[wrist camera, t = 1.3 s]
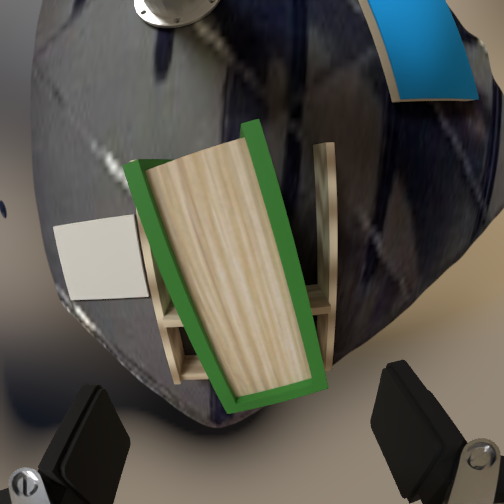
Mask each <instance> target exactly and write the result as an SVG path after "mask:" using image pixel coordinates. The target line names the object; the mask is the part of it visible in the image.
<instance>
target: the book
mask: <svg viewBox="0 0 504 504" xmlns="http://www.w3.org/2000/svg"><path fill="white" fill-rule="evenodd" d="M358 1H359V3H360V5H361V8H362V10H363V13H364V15H365V18H366V20H367V23H368V26H369V28H370V31H371V34H372V37H373V39H374V42H375V45H376V48H377V51H378V54H379V57H380V61H381V64H382V67H383V70H384V74H385V77H386V81H387V84H388V88H389V92H390V96H391V100H392V102H409V101H473V100H477V99H479V97H478V93H477V89H476V85H475V81H474V78H473V74H472V70H471V67H470V64H469V61H468V57H467V54H466V51H465V48H464V45H463V43H462V40H461V37H460V34H459V32H458V29H457V27H456V24H455V22H454V19H453V17H452V14H451V12H450V10H449V8H448V5H447V3H446V1H445V0H358Z"/></svg>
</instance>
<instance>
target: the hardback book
mask: <svg viewBox="0 0 504 504" xmlns="http://www.w3.org/2000/svg"><path fill="white" fill-rule="evenodd" d="M123 169H124V172H125V176H126V179H127V182H128V185H129V188H130V191H131V194H132V197H133V200H134V203H135V206H136V209H137V212H138V215H139V217H140V220H141V223H142V226H143V229H144V231H145V234H146V237H147V239H148V242H149V245H150V247H151V250H152V253H153V255H154V258H155V260H156V263H157V265H158V268H159V270H160V273H161V275H162V278H163V280H164V283H165V285H166V287H167V290H168V292H169V294H170V297H171V299H172V301H173V304H174V306H175V308H176V311H177V313H178V315H179V317H180V320H181V322H182V324H183V326H184V328H185V331H186V333H187V335H188V337H189V339H190V341H191V343H192V346H193V348H194V350H195V352H196V354H197V356H198V358H199V360H200V362H201V364H202V366H203V368H204V370H205V372H206V374H207V376H208V378H209V380H210V382H211V384H212V386H213V388H214V390H215V392H216V393H217V395H218V397H219V399H220V401H221V403H222V405H223V407H224V408H225V410H226V412H227V414H230V413H235V412H240V411H245V410H249V409H254V408H258V407H263V406H267V405H271V404H275V403H279V402H283V401H287V400H290V399H294V398H297V397H301V396H304V395H308V394H311V393H314V392H318V391H321V390H324V389H328V384H327V379H326V374H325V370H324V365H323V360H322V356H321V351H320V346H319V342H318V338H317V333H316V329H315V324H314V320H313V316H312V311H311V307H310V303H309V299H308V295H307V290H306V286H305V282H304V278H303V274H302V270H301V266H300V262H299V258H298V254H297V251H296V247H295V243H294V239H293V235H292V232H291V228H290V224H289V220H288V217H287V213H286V209H285V206H284V202H283V199H282V195H281V191H280V188H279V184H278V181H277V177H276V174H275V170H274V167H273V164H272V160H271V157H270V153H269V150H268V147H267V143H266V140H265V137H264V133H263V130H262V127H261V124H260V121H259V119H256V120H252V121H249V122H245V123H242V124H241V129H240V139H237V140H234V141H230V142H227V143H224V144H221V145H217V146H214V147H211V148H208V149H205V150H202V151H199V152H196V153H193V154H190V155H187V156H184V157H181V158H179V159H176V160H165V159H137V160H135V161H132V162H130V163H128V164H125V165H123Z"/></svg>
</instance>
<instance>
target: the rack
mask: <svg viewBox="0 0 504 504" xmlns="http://www.w3.org/2000/svg"><path fill="white" fill-rule="evenodd" d="M313 154H314V170H315V190H316V215H317V266H318V284H315V285H306V290H307V295H308V299H309V303H310V307H311V311H312V315H317V338H318V342H319V346H320V351H321V356H322V360H323V365H324V370H325V372H326V371H331V370H332V362H333V349H334V335H335V318H336V296H337V253H338V229H337V186H336V164H335V147H334V142H326V143H320V144H315V145H313ZM132 161H135V160H132ZM132 161H130V162H132ZM136 212H137V209H136ZM137 219H138V226H139V232H140V238H141V244H142V250H143V256H144V261H145V266H146V271H147V277H148V281H149V286H150V291H151V296H152V300H153V305H154V309H155V313H156V318H157V322H158V326H159V330H160V334H161V338H162V342H163V345H164V349H165V353H166V357H167V360H168V364H169V367H170V371H171V374H172V377H173V381H174V384H181V382H182V380H196V379H209V378H208V376H207V374H206V372H205V370H204V368H203V366H202V364H201V362H200V360H199V358H198V356H197V355H185V353H184V348H183V344H182V340H181V335H180V331H179V327H184V326H183V324H182V322H181V320H180V317H179V315H178V313H177V311H176V308H175V306H174V304H173V301H172V299H171V297H170V294H169V292H168V290H167V287H166V285H165V283H164V280H163V278H162V275H161V273H160V270H159V268H158V265H157V263H156V260H155V258H154V255H153V253H152V250H151V247H150V245H149V242H148V239H147V237H146V234H145V231H144V229H143V226H142V223H141V220H140V217H139V215H138V212H137Z"/></svg>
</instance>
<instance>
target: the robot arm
mask: <svg viewBox="0 0 504 504" xmlns="http://www.w3.org/2000/svg"><path fill="white" fill-rule="evenodd" d="M219 1H220V0H134V6H135V10H136V12H137V14H138V15H139V17H140V18H141V19H142V20H143V21H144V22H146V23H148V24H149V25H152V26H155V27H160V28H177V27H182V26H186V25H190V24H192V23H194V22H197V21H199V20H200V19H202V18H204V17H205V16H207V15H208V14H209V13H211V12H212V11H213V9H214V8H215V7H216V6H217V4H218V3H219ZM212 2H213V3H212ZM177 22H178V23H177ZM371 428H372V431H373V433H374V435H375V437H376V439H377V442H378V444H379V446H380V448H381V450H382V453H383V455H384V457H385V459H386V461H387V464H388V466H389V468H390V471H391V473H392V475H393V478H394V480H395V482H396V484H397V486H398V489H399V491H400V494H401V496H402V497H403V498H404V499H405V498H407V499H408V501H409V503H412V502H415V501H417V500H420V499H421V501H422V503H423V504H504V456H501V455H500V450H499V448H498V446H497V445H496V444H495V443H494V442H492V441H491V440H488V439H484V438H479V439H474V440H472V441H470V442H469V443H467V441H466V440H465V439H464V437H463V436H462V434H461V433H460V431H459V430H458V428H457V427H456V426H455V424H454V423H453V421H452V420H451V419H450V417H449V416H448V414H447V413H446V412H445V410H444V409H443V408H442V406H441V405H440V403H439V402H438V401H437V399H436V398H435V397H434V395H433V394H432V393H431V392H430V391H429V390H427V389H426V387H425V386H424V385H423V383H422V382H421V381H420V380H419V378H418V377H417V375H416V374H415V373H414V372H413V370H412V369H411V367H410V366H409V365H408V363H407V362H406V361H405V360H400V361H396V362H392V363H388V364H387V366H386V368H384V369H383V370H382V374H381V378H380V384H379V388H378V392H377V396H376V401H375V405H374V409H373V413H372V416H371ZM129 448H130V438H129V436H128V434H127V432H126V430H125V428H124V426H123V424H122V422H121V421H120V419H119V417H118V414H117V413H116V410H115V408H114V406H113V404H112V402H111V400H110V398H109V396H108V393H107V392H106V390H105V389H102V387H101V386H100V385H94V384H84V385H83V386H82V388H81V389H80V391H79V393H78V395H77V396H76V398H75V400H74V401H73V403H72V405H71V407H70V408H69V410H68V412H67V413H66V415H65V417H64V419H63V421H62V422H61V424H60V426H59V428H58V430H57V431H56V433H55V435H54V437H53V439H52V441H51V443H50V444H49V446H48V448H47V450H46V452H45V454H44V456H43V458H42V460H41V462H40V464H39V466H38V468H39V470H38V472H37V471H36V470H33V469H32V468H21V469H18V470H16V471H15V472H14V473H13V474H12V475H11V477H10V478H9V482H8V487H9V488H7V489H4V490H1V491H0V504H113V502H114V499H115V495H116V492H117V488H118V484H119V481H120V478H121V474H122V471H123V467H124V464H125V461H126V457H127V454H128V451H129Z"/></svg>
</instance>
